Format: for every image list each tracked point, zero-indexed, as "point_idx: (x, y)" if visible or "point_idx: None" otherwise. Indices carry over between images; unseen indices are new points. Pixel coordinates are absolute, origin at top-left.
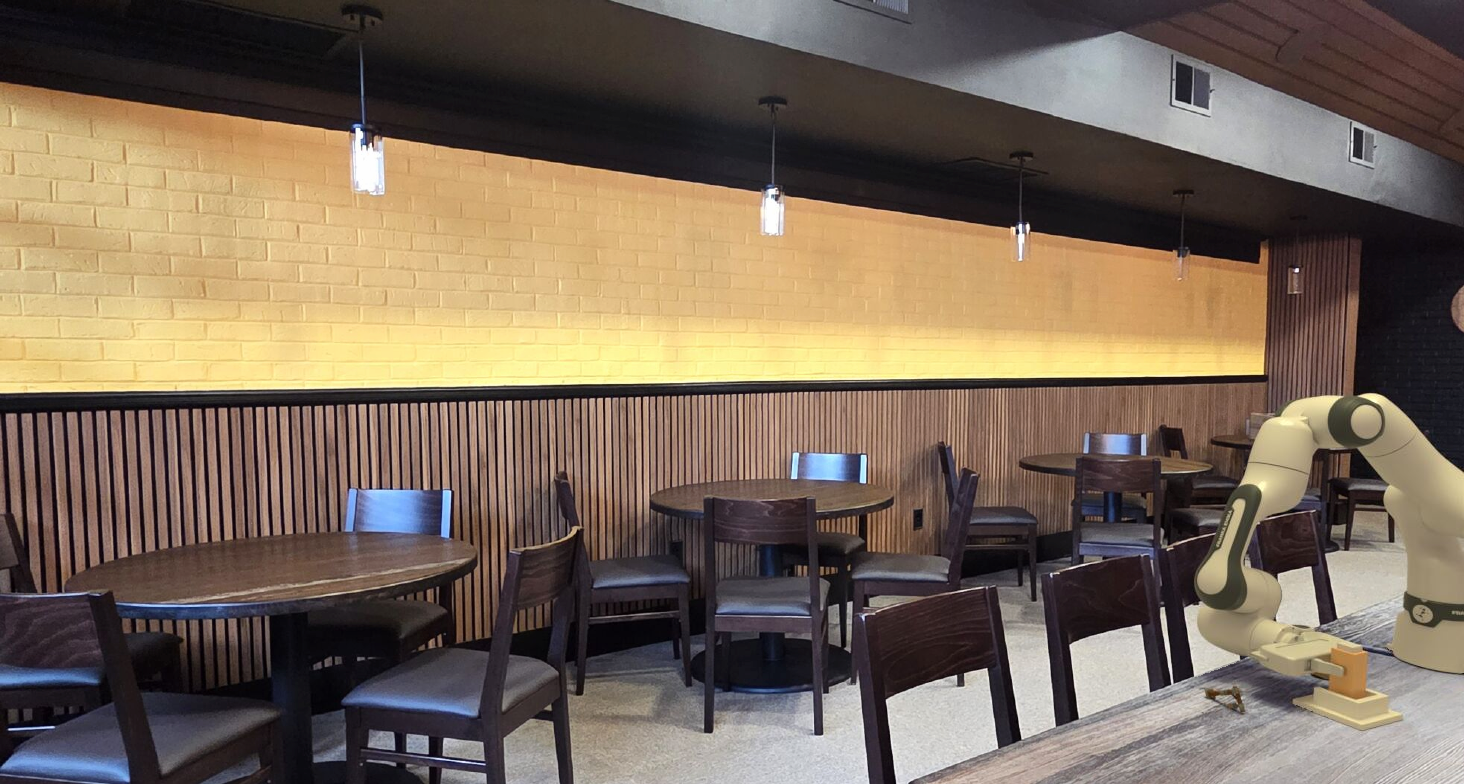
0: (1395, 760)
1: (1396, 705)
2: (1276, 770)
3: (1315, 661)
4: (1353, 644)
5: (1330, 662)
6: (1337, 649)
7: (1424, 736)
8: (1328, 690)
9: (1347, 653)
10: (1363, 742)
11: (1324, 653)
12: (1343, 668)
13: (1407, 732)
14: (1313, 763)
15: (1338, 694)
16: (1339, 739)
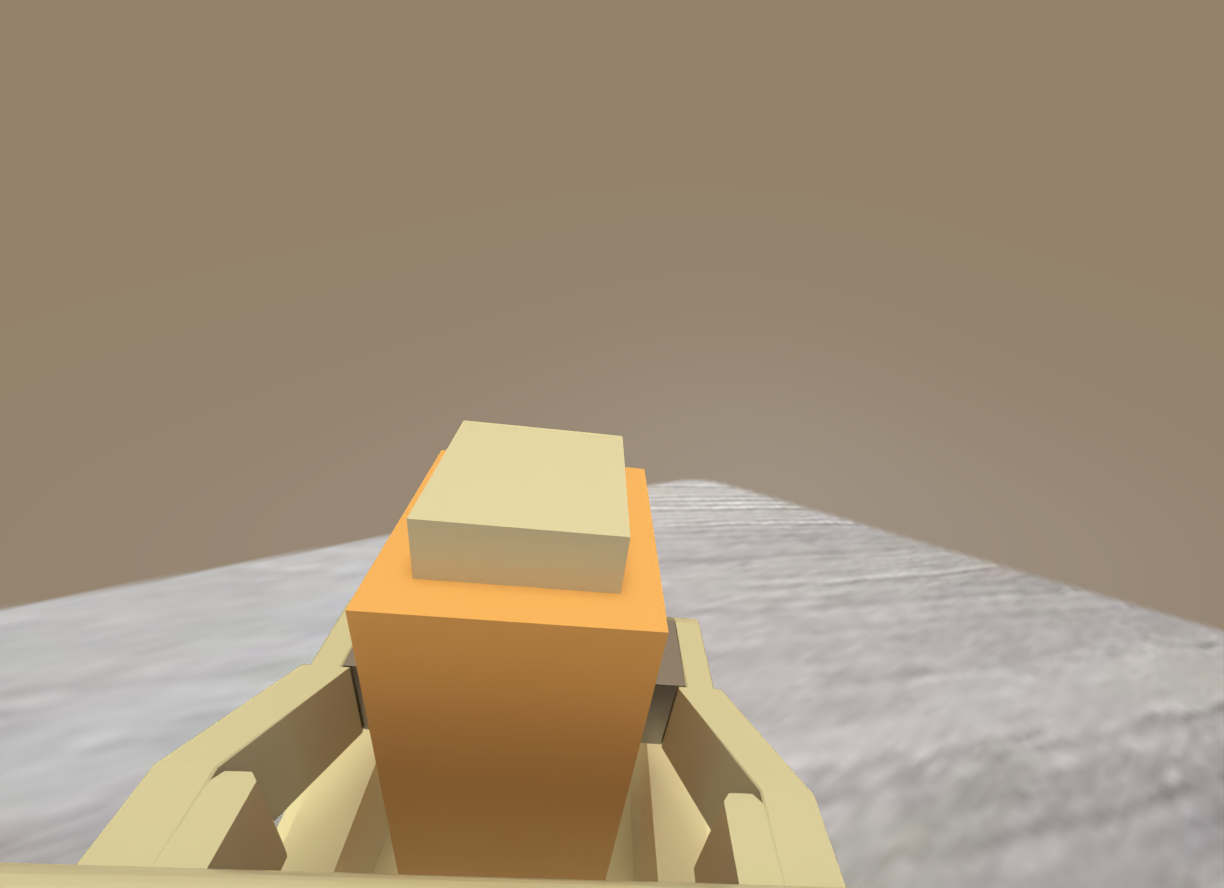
0: (779, 539)
1: (100, 767)
2: (1220, 640)
3: (823, 845)
4: (496, 457)
5: (635, 755)
6: (656, 573)
7: None
8: (660, 851)
9: (646, 510)
10: (777, 621)
11: (544, 884)
12: (668, 618)
13: None
14: (1065, 618)
15: (660, 760)
16: (856, 669)
